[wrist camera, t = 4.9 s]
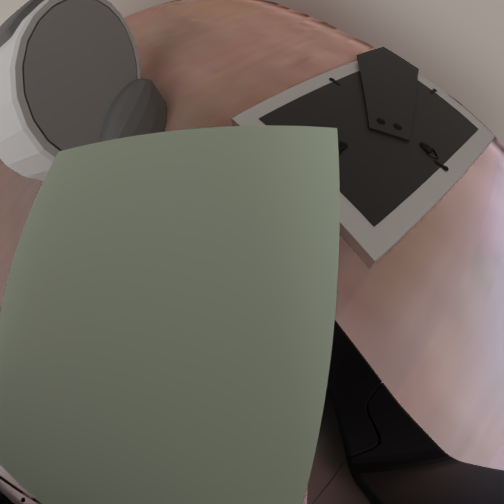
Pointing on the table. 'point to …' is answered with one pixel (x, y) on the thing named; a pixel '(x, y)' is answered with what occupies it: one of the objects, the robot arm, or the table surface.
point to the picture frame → (382, 143)
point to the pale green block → (173, 319)
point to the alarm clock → (69, 83)
